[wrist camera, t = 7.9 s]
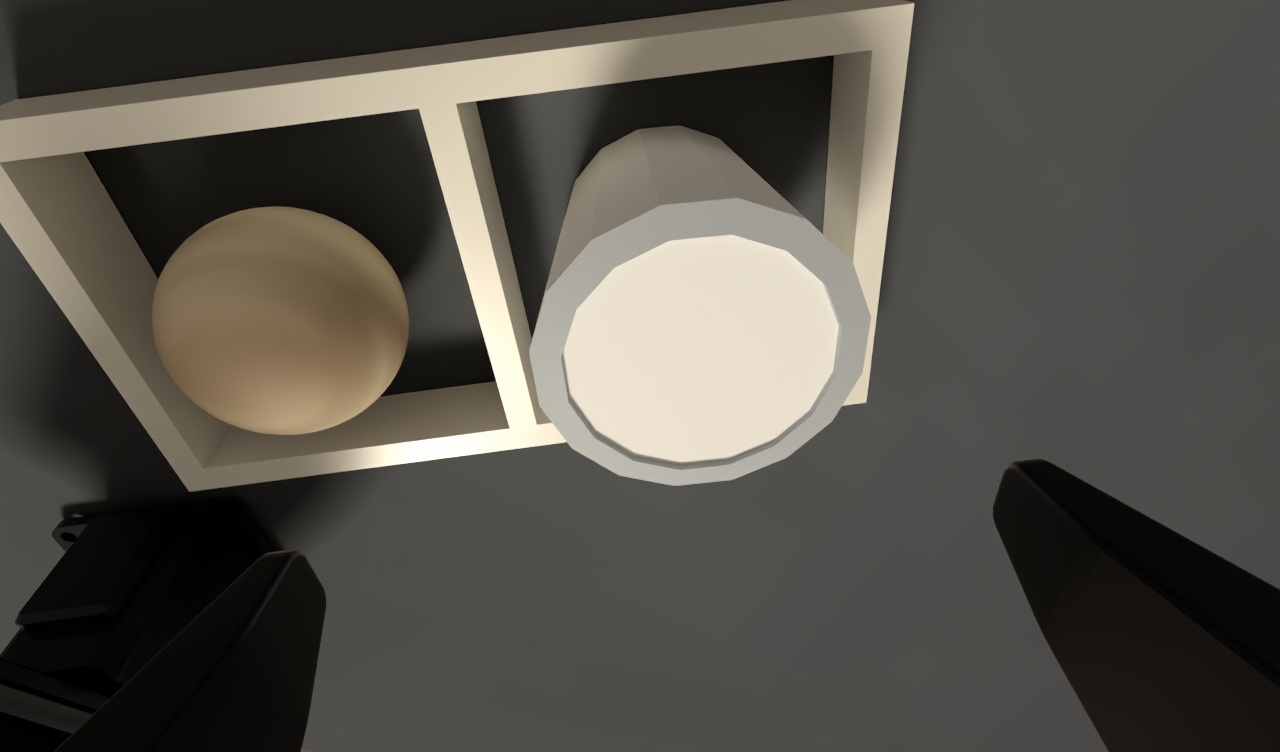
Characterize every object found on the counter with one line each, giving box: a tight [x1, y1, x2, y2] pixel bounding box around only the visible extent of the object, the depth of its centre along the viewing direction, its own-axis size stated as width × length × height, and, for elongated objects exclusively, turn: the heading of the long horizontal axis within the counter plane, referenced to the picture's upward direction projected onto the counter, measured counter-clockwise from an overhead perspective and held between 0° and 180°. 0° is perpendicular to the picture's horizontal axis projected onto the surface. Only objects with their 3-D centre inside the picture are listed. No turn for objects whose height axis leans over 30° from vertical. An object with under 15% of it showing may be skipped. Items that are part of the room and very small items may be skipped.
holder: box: [0, 0, 914, 492], centre depth 18 cm, size 11×20×2 cm, turn 96°
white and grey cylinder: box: [529, 125, 871, 486], centre depth 16 cm, size 7×7×7 cm
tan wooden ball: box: [151, 206, 409, 435], centre depth 17 cm, size 6×6×6 cm
